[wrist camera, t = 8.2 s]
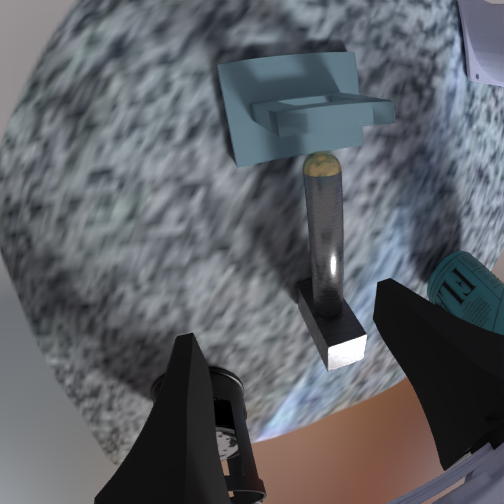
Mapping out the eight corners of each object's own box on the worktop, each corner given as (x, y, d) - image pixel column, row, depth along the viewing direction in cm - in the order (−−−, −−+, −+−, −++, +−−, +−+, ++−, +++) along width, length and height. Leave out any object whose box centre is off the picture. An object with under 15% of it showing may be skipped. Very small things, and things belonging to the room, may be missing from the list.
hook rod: (278, 142, 17) (323, 176, 12) (319, 136, 17) (378, 166, 12) (298, 307, 24) (327, 371, 19) (328, 299, 25) (363, 358, 19)
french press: (127, 389, 27) (138, 612, 7) (193, 348, 25) (242, 628, 6) (206, 426, 33) (239, 599, 13) (269, 395, 31) (330, 588, 12)
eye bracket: (216, 65, 14) (230, 55, 9) (348, 52, 15) (411, 49, 10) (235, 164, 18) (257, 202, 12) (357, 142, 18) (416, 171, 13)
